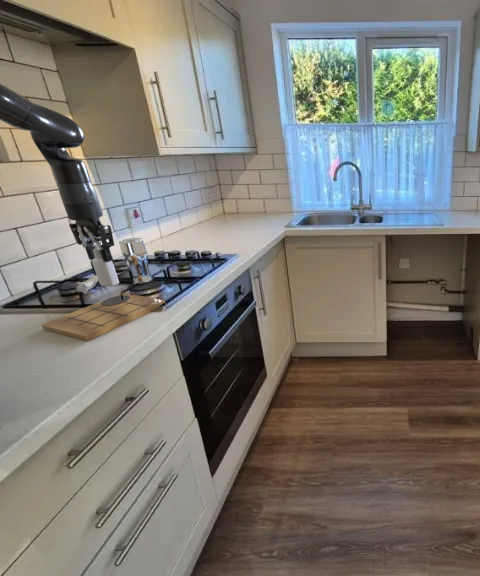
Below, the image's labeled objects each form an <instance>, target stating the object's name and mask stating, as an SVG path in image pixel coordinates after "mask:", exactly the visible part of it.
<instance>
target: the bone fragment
mask: <svg viewBox="0 0 480 576" xmlns="http://www.w3.org/2000/svg"><path fill="white" fill-rule="evenodd" d="M98 283H99V281H98V278H97V275H92V276H91V277H90V278H88V279H86V280H84V281H82V282H81V281H77V282H76V283H75V284H74V286H75V289H76V292H77V293H78V292H82V293H84V295H86V294H87V293H88V292H89V290H92V289H93V288H94V287H95V286H96V285H97V284H98Z"/></svg>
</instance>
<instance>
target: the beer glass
mask: <svg viewBox="0 0 480 576" xmlns="http://www.w3.org/2000/svg"><path fill="white" fill-rule="evenodd" d="M118 244H119V248H120V252H121V256H122V258H123V260H124V263H125V264H126V266H127V268H128V270H129V271H130V274H131V278H132V285H134V284H136V283H142V282H150V281H152V282H154V278H153V275H152V274H151V271H150V267H149V266H150V265H149V256H148V252H147V251H148V250H147V248H146V245H145V242H144V240H143V238H142V237H129V238H124V239H121V240H119V241H118Z"/></svg>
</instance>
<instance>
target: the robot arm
mask: <svg viewBox="0 0 480 576" xmlns="http://www.w3.org/2000/svg"><path fill="white" fill-rule="evenodd" d="M0 121H1V122H3V123H5V124H6V125H9V126H11V127H13V128H16V129H18V130H21V131H28V132H29V133H30V138H31V140H32V142H34V145H35V146H36V147H37V149H38V151H39V152H40V154H41V155H42V156H43V158H44V160H45V161H46V162H47V163H48V166H50V168H51V170H52V171H51V172H52V173H53V176H54V179H55V182H56V184H57V188H58V193H59V196H60V199H61V202H62V204H63V207H64V210H65V212H66V216H67V218H68V219H69V220H70V221H74V222H73V223H69V224H68V227H69V229H70V231H71V233H72V235H73V238H74V239H75V241H76V243H77V244H78V245H79V246H82V247H83V249H84V250H85V253H86V254H87V257H88V260H90V261H92V260H93V259H94V258H96V257H95V256H94V253H93V250H94V249H95V245H96V244H97V246H98V247H99V249H100V253H101V256H102V259H103V261H104V262H110V261H112V262H113V261H114V258H113V255H112V252H111V249H110V248H112V247H114V246H115V239H114V237H113V230H112V226H111V225H110V224H108V225H104V224H103V223H102V221H101V219H100V218H101V217H103V215H104V213H103V210H102V206H101V204H100V201H99V200H100V199H99V198H98V194H97V191H96V189H95V187H94V185H93V183H92V180H91V176H90V173H89V169H88V167H87V165H86V163H85V161H84V160H82V159H80V158H77V157H72V156H71V155H70V153H69V152H68V151H67V149H74V148H78V147H80V146H82V145H83V144H84V142H85V133H84V131H83V129H82V127H81V126H80V125H79V124H78V123H77V122H76V121H75V120H73V119H72V118H70V117H69V116H67V115H65V114H62V113H60V112H58V111H56V110H54V109H51V108H48V107H46V106H43V105H40V104H38V103H35V102H33V101H31V100H29V99H28V98H26V97H25V96H23V95H22V94H20V93H17V92H16V91H14V90H13V89H11V88H9V87H7V86H6V85H4V84H2V83H0Z"/></svg>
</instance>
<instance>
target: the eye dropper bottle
mask: <svg viewBox="0 0 480 576" xmlns="http://www.w3.org/2000/svg"><path fill="white" fill-rule="evenodd" d="M94 246H95V249H94V250H93V253H94V256H95V257H96V258H94V259H93V260H91V264H92V266H93V269H94V273H95V276H97V278H98V283H99V285H100V286H102V287H114V286H118V285H119V284H120V280H119V278H118V274H117V271H116V269H115V266H114V262H113V260H112V261H110V262H104V261H103V259H102V256H101V253H100V249H99V247H98V246H97V244H96V243H95V244H94Z"/></svg>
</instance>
